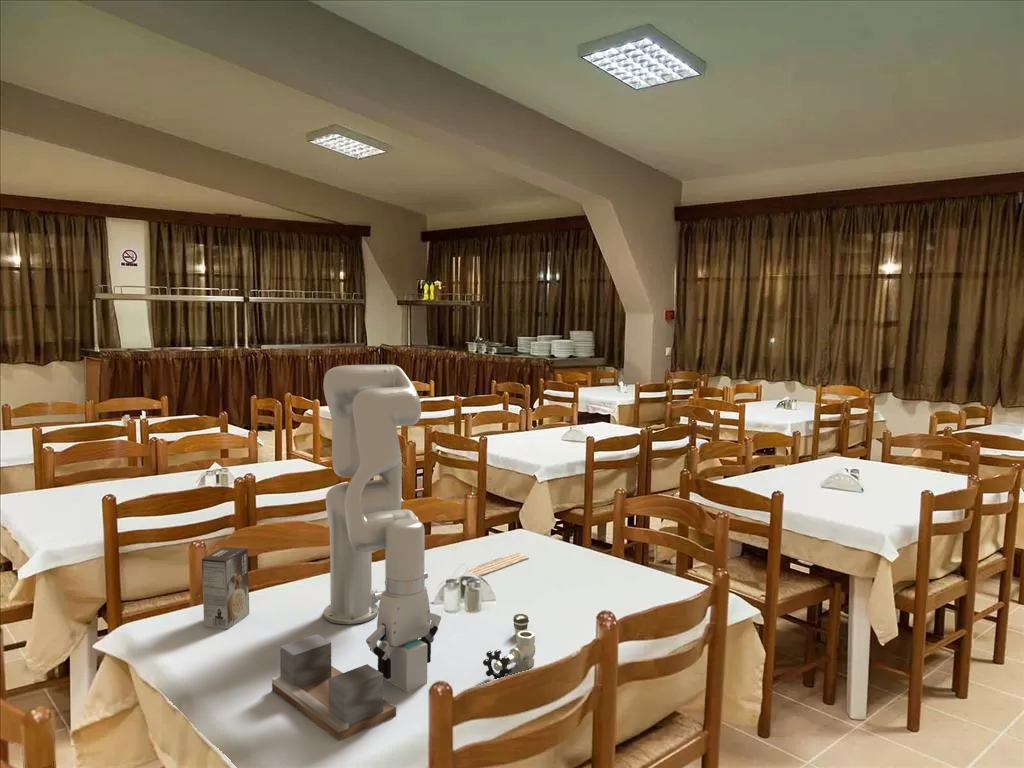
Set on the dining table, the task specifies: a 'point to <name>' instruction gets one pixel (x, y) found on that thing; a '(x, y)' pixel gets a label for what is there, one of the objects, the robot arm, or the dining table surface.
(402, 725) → the dining table surface
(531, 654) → the valve
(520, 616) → the coffee cup
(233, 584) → the coffee box
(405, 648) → the module block
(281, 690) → the mounting plate
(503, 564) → the striped wooden board
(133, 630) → the dining table surface
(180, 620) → the dining table surface
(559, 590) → the dining table surface
